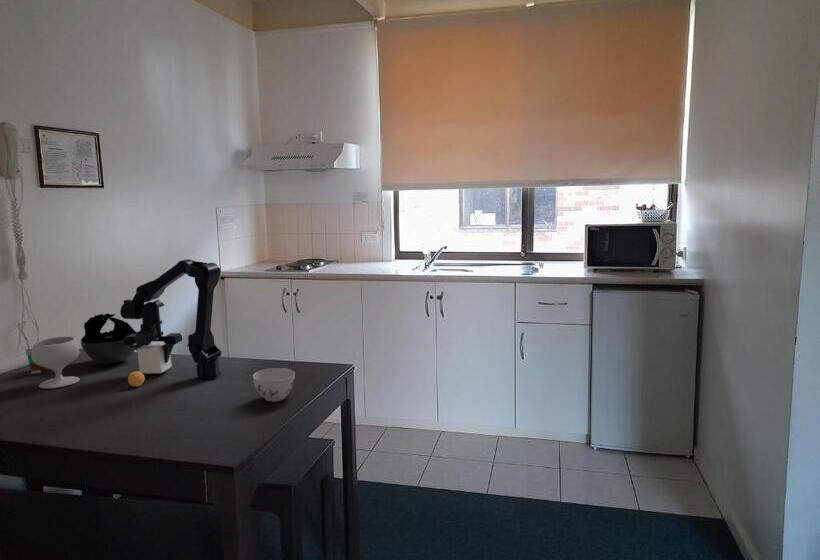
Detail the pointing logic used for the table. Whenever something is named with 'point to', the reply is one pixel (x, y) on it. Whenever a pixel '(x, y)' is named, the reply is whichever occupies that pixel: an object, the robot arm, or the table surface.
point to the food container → (34, 367)
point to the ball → (136, 378)
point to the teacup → (274, 383)
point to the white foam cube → (152, 358)
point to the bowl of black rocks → (106, 340)
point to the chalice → (56, 359)
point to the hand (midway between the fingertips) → (155, 362)
